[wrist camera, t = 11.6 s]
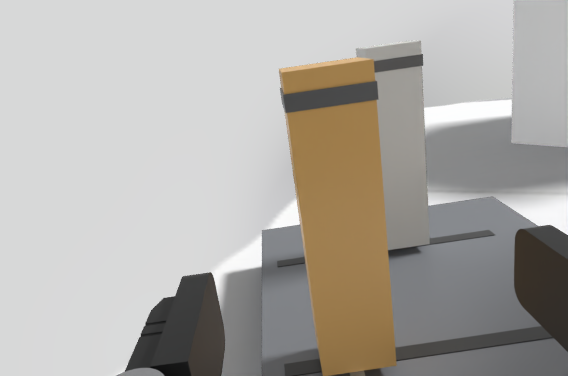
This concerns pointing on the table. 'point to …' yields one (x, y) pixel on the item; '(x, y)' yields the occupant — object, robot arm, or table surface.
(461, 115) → the table surface
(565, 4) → the cube
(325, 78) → the amber fader
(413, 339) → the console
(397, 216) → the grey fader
